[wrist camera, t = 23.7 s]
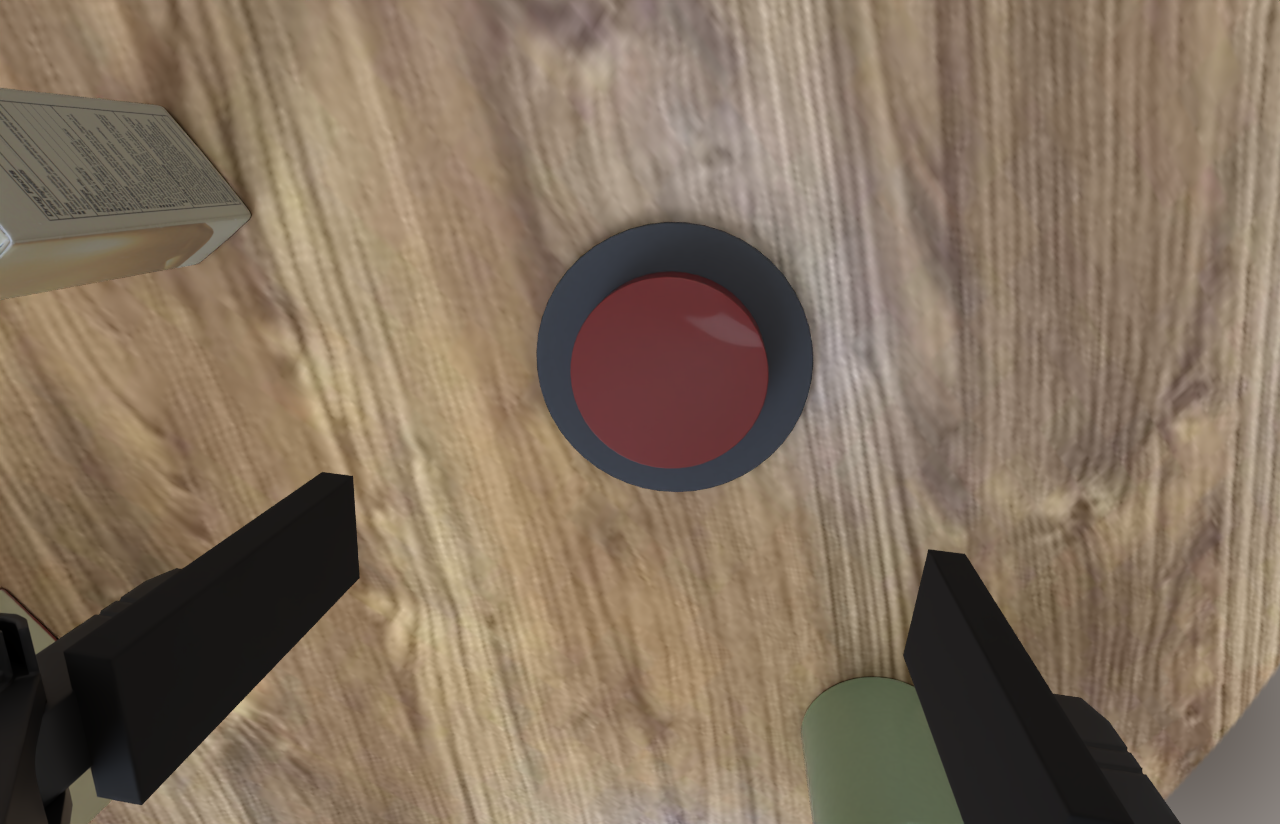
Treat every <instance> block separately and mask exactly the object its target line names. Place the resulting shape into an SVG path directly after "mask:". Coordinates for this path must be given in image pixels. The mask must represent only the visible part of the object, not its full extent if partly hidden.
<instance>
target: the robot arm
mask: <svg viewBox="0 0 1280 824" xmlns="http://www.w3.org/2000/svg"><path fill="white" fill-rule="evenodd" d="M359 578H360V577H359V561H358V546H357V531H356V515H355V500H354V485H353V476H349V475H341V474H333V473H325V472H322V473H320V474H319V475H317V476H316V477H314V478H313V479H312V480H310V481H309V482H307V483H306V484H304V485H303V486H301V487H300V488H299V489H297V490H296V491H294V492H293V493H291V494H290V495H288V496H287V497H286V498H284V499H283V500H281V501H280V502H278V503H277V504H275V505H274V506H273V507H271V508H270V509H268V510H267V511H265V512H264V513H262V514H261V515H260V516H258V517H257V518H255V519H254V520H252V521H251V522H249V523H248V524H247V525H245V526H244V527H242V528H241V529H239V530H238V531H236V532H235V533H234V534H232V535H231V536H229V537H228V538H226V539H225V540H223V541H222V542H221V543H219V544H218V545H216V546H215V547H213V548H212V549H210V550H209V551H208V552H206V553H205V554H203V555H202V556H200V557H199V558H197V559H196V560H195V561H193V562H192V563H190V564H189V565H187V566H186V567H184V568H183V569H178V568H176V569H173V570H171V571H169V572H166V573H164V574H161V575H159V576H157V577H154V578H152V579H149V580H147V581H145V582H143V583H142V584H140V585H139V586H137V587H136V588H134V589H133V590H131V591H130V592H128V593H127V594H125V595H124V596H122V597H121V600H120V601H115V602H113V603H112V604H110V605H109V606H107V607H106V608H104V609H103V610H101V613H100V614H99V615H94V616H93V617H91V618H90V619H88V620H87V621H85V622H84V623H82V624H81V625H79V626H78V627H76V628H75V629H73V630H72V631H70V632H69V633H67V634H66V635H64V636H63V637H61V638H60V639H58V640H57V641H55V642H54V643H52V644H51V645H49V646H48V647H46V648H45V649H43V650H42V651H40V652H39V653H37V654H35V650H34V646H33V642H32V638H31V634H30V630H29V626H28V622H27V619H26V618H24V617H22V616H20V615H18V614H10V613H0V824H70V821H71V814H72V807H73V803H72V798H71V794H70V790H69V786H70V785H71V784H73V783H74V782H75V781H76V780H77V779H78V778H79V777H80V776H81V775H83V774H84V773H85V772H86V771H87V770H88V769H89V768H91V772H92V777H93V781H94V785H95V790H96V794H97V797H100V798H106V799H111V800H117V801H122V802H128V803H133V804H139V805H142V804H143V803H144V802H145V801H146V800H147V799H148V798H149V797H150V796H151V795H152V794H153V793H154V792H155V791H156V790H157V789H158V788H159V786H160V785H161V784H162V783H163V782H164V781H165V780H166V779H167V778H168V777H169V776H170V775H171V774H172V773H173V772H174V771H175V770H176V769H177V768H178V767H179V766H180V765H181V764H182V763H183V761H184V760H185V759H186V758H187V757H188V756H189V755H190V754H191V753H192V752H193V751H194V750H195V749H196V748H197V747H198V746H199V745H200V744H201V743H202V742H203V741H204V740H205V739H206V737H207V736H208V735H209V734H210V733H211V732H212V731H213V730H214V729H215V728H216V727H217V726H218V725H219V724H220V723H221V722H222V721H223V720H224V719H225V718H226V717H227V716H228V715H229V713H230V712H231V711H232V710H233V709H234V708H235V707H236V706H237V705H238V704H239V703H240V702H241V701H242V700H243V699H244V698H245V697H246V696H247V695H248V694H249V693H250V692H251V691H252V689H253V688H254V687H255V686H256V685H257V684H258V683H259V682H260V681H261V680H262V679H263V678H264V677H265V676H266V675H267V674H268V673H269V672H270V671H271V670H272V669H273V668H274V667H275V665H276V664H277V663H278V662H279V661H280V660H281V659H282V658H283V657H284V656H285V655H286V654H287V653H288V652H289V651H290V650H291V649H292V648H293V647H294V646H295V645H296V644H297V643H298V641H299V640H300V639H301V638H302V637H303V636H304V635H305V634H306V633H307V632H308V631H309V630H310V629H311V628H312V627H313V626H314V625H315V624H316V623H317V622H318V621H319V620H320V619H321V617H322V616H323V615H324V614H325V613H326V612H327V611H328V610H329V609H330V608H331V607H332V606H333V605H334V604H335V603H336V602H337V601H338V600H339V599H340V598H341V597H342V596H343V595H344V593H345V592H346V591H347V590H348V589H349V588H350V587H351V586H352V585H353V584H354V583H355V582H356V581H357V580H358V579H359ZM903 656H904V659H905V662H906V664H907V667H908V670H909V673H910V676H911V678H912V681H913V684H914V687H915V689H916V692H917V695H918V698H919V700H920V703H921V706H922V709H923V712H924V714H925V717H926V720H927V723H928V725H929V728H930V731H931V734H932V737H933V739H934V742H935V745H936V748H937V750H938V753H939V756H940V759H941V762H942V764H943V767H944V770H945V773H946V775H947V778H948V781H949V784H950V786H951V789H952V792H953V795H954V798H955V800H956V803H957V806H958V809H959V811H960V814H961V817H962V820H963V823H964V824H1180V822H1179V821H1178V819H1177V818H1176V816H1175V815H1174V814H1173V812H1172V811H1171V809H1170V808H1169V806H1168V805H1167V804H1166V802H1165V801H1164V799H1163V798H1162V796H1161V795H1160V794H1159V792H1158V791H1157V789H1156V788H1155V786H1154V785H1153V784H1152V782H1151V781H1150V779H1149V778H1148V777H1147V775H1145V774H1143V773H1142V768H1141V767H1140V765H1139V764H1138V762H1137V761H1136V759H1135V758H1134V757H1133V755H1132V754H1131V753H1129V752H1127V747H1126V745H1125V744H1124V742H1123V741H1122V739H1121V738H1120V737H1119V735H1118V734H1117V732H1116V731H1115V729H1114V728H1113V727H1112V725H1111V724H1110V722H1109V721H1108V720H1106V719H1105V718H1104V717H1103V716H1102V715H1101V714H1099V713H1098V712H1097V711H1096V710H1095V709H1094V708H1092V707H1091V706H1090V705H1089V704H1088V703H1086V702H1085V701H1084V700H1083V699H1082V698H1079V697H1072V696H1065V695H1058V694H1053V693H1052V691H1051V690H1050V688H1049V687H1048V685H1047V684H1046V682H1045V680H1044V679H1043V677H1042V676H1041V674H1040V672H1039V671H1038V669H1037V668H1036V666H1035V664H1034V663H1033V661H1032V660H1031V658H1030V656H1029V655H1028V653H1027V652H1026V650H1025V649H1024V647H1023V645H1022V644H1021V642H1020V641H1019V639H1018V637H1017V636H1016V634H1015V633H1014V631H1013V629H1012V628H1011V626H1010V625H1009V623H1008V621H1007V620H1006V618H1005V617H1004V615H1003V614H1002V612H1001V610H1000V609H999V607H998V606H997V604H996V602H995V601H994V599H993V598H992V596H991V594H990V593H989V591H988V590H987V588H986V586H985V585H984V583H983V582H982V580H981V579H980V577H979V575H978V574H977V572H976V571H975V569H974V567H973V566H972V564H971V563H970V561H969V559H968V558H967V556H966V555H965V554H961V553H953V552H945V551H937V550H929V549H928V553H927V557H926V562H925V566H924V570H923V574H922V579H921V583H920V587H919V591H918V595H917V600H916V604H915V608H914V612H913V616H912V621H911V625H910V629H909V633H908V638H907V642H906V646H905V650H904V654H903Z"/></svg>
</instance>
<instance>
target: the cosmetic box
mask: <svg viewBox="0 0 1280 824" xmlns="http://www.w3.org/2000/svg"><path fill="white" fill-rule="evenodd" d="M250 216H251V214H250V212H249V210H248V209H247V207H246V206H245V205H244V204H243V202H242V201H241V200H240V198H239V197H238V196H237V195H236V194H235V192H234V191H233V190H232V188H231V187H230V186H229V185H228V183H227V182H226V181H225V180H224V178H223V177H222V176H221V175H220V174H219V172H218V171H217V170H216V169H215V167H214V166H213V165H212V164H211V163H210V161H209V160H208V159H207V158H206V157H205V155H204V154H203V153H202V152H201V150H200V149H199V148H198V147H197V146H196V145H195V143H194V142H193V141H192V140H191V139H190V138H189V136H188V135H187V134H186V133H185V132H184V131H183V129H182V128H181V127H180V126H179V125H178V124H177V122H176V121H175V120H174V119H173V118H172V117H171V115H170V114H169V113H168V112H167V111H166V110H165V109H164V108H163V107H162V106H160V105H152V104H143V103H133V102H124V101H115V100H106V99H97V98H88V97H78V96H69V95H61V94H51V93H41V92H32V91H23V90H15V89H6V88H0V300H4V299H9V298H15V297H20V296H26V295H31V294H37V293H43V292H48V291H52V290H58V289H64V288H69V287H74V286H80V285H86V284H91V283H97V282H103V281H108V280H113V279H119V278H124V277H130V276H135V275H140V274H146V273H151V272H157V271H162V270H168V269H174V268H179V267H185V266H190V265H195V264H198V263H200V262H201V261H202V260H203V259H205V258H206V257H207V256H208V255H209V254H211V253H212V252H213V251H214V250H215V249H216V248H218V247H219V246H220V245H221V244H222V243H223V242H225V241H226V240H227V239H228V238H229V237H230V236H231V235H233V234H234V233H235V232H236V231H237V230H238V229H239V228H240V227H241V226H242V225H244V224H245V223H246V222H247V221H248V220H249V219H250Z"/></svg>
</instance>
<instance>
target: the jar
mask: <svg viewBox="0 0 1280 824" xmlns="http://www.w3.org/2000/svg"><path fill="white" fill-rule="evenodd" d="M801 740H802V748H803V755H804V763H805V771H806V778H807V786H808V793H809V801H810V808H811V816H812V823H813V824H964V823H963V820H962V817H961V814H960V811H959V809H958V806H957V803H956V800H955V798H954V795H953V792H952V789H951V786H950V784H949V781H948V778H947V775H946V773H945V770H944V767H943V764H942V762H941V759H940V756H939V753H938V750H937V748H936V745H935V742H934V739H933V737H932V734H931V731H930V728H929V725H928V723H927V720H926V717H925V714H924V712H923V709H922V706H921V703H920V700H919V698H918V695H917V692H916V689H915V687H914V686H911V685H909V684H907V683H905V682H901V681H898V680H895V679H889V678H882V677H864V678H856V679H852V680H848V681H845V682H842V683H839V684H837V685H835V686H833V687H831V688H829V689H828V690H826V691H825V692H823V693H822V694H821V695H820V696H818V697H817V698H816V699H815V700H814V702H813V703H812V704H811V705H810V707H809V708H808V710H807V712H806V714H805V716H804V718H803V722H802V727H801Z"/></svg>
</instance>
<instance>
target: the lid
mask: <svg viewBox="0 0 1280 824" xmlns="http://www.w3.org/2000/svg"><path fill="white" fill-rule="evenodd" d="M570 375H571V385H572V390H573V394H574V398H575V401H576V404H577V406H578V409H579V411H580V413H581V415H582V417H583V419H584V420H585V422H586V423H587V425H588V426H589V428H590V429H591V430H592V431H593V433H594V434H595V435H596V436H597V437H598V438H599V439H600V440H601V441H602V442H603V443H604V444H606V445H607V446H608V447H609V448H611V449H612V450H613V451H615V452H616V453H618V454H619V455H621V456H623V457H625V458H627V459H629V460H632V461H634V462H637V463H640V464H643V465H647V466H651V467H658V468H685V467H692V466H695V465H699V464H703V463H706V462H708V461H711V460H713V459H715V458H717V457H719V456H721V455H723V454H724V453H726V452H727V451H729V450H730V449H731V448H733V447H734V446H735V445H736V444H738V443H739V442H740V441H741V440H742V439H743V438H744V437H745V435H746V434H747V433H748V432H749V430H750V429H751V428H752V427H753V425H754V423H755V422H756V420H757V418H758V417H759V414H760V412H761V410H762V407H763V405H764V401H765V398H766V394H767V388H768V361H767V354H766V350H765V346H764V342H763V339H762V335H761V332H760V330H759V328H758V326H757V323H756V321H755V320H754V318H753V317H752V315H751V313H750V312H749V310H748V309H747V308H746V307H745V306H744V304H743V303H742V302H741V301H740V300H739V299H738V298H737V297H736V296H735V295H734V294H733V293H731V292H730V291H728V290H727V289H726V288H724V287H723V286H721V285H719V284H717V283H716V282H714V281H712V280H710V279H707V278H704V277H701V276H699V275H695V274H690V273H686V272H674V271H670V272H657V273H652V274H647V275H644V276H641V277H637V278H635V279H633V280H631V281H628V282H626V283H624V284H623V285H621V286H620V287H618V288H617V289H615V290H614V291H613V292H611V293H610V294H609V295H608V296H607V297H606V298H605V299H603V300H602V301H601V302H600V303H599V304H598V305H597V306H596V307H595V309H594V310H593V311H592V312H591V313H590V314H589V316H588V317H587V319H586V320H585V322H584V323H583V325H582V327H581V329H580V331H579V333H578V335H577V338H576V341H575V344H574V347H573V351H572V357H571V370H570Z"/></svg>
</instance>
